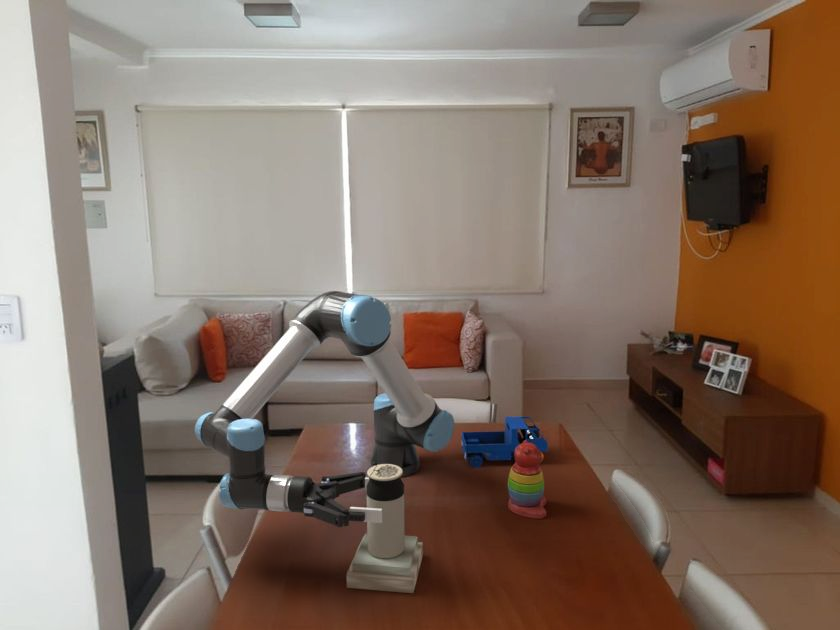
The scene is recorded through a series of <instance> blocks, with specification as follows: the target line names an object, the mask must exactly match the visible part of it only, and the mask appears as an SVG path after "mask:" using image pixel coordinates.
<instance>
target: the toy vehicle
mask: <svg viewBox="0 0 840 630" xmlns="http://www.w3.org/2000/svg"><path fill="white" fill-rule="evenodd" d="M525 419H529V420H530V421H531V423H532V424H533V425H528V424H527V422H526V421H525ZM504 421H505V422H504V431H503V430H497V431H494V430H493V431H461V449H462V454H463V457H464V460H465V461H466V462H467V461H469V464H470V467H472V468H480V467H481V466H483V464H484V460H483V458H485V459H486V460H487V461H511V459H512V458H513V462H514V464H515V463H516V460H515V455H514V453H515V449H516V447H517V446H518V445H520V444H522V443H523V441H524V440H527V443H532V444H534V445H536V447H537V448H538V449H539V450H540V451H541V452H548V447H549V443H548V440H546V439H545V438H544V437H543V435H542V434H541V429H540V428H539V427H537V424H535V423H534V421H533V420H532V419H531V417H530V416H525V415H524V416H505V420H504ZM519 430H520V431H519ZM468 459H469V460H468Z"/></svg>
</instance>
